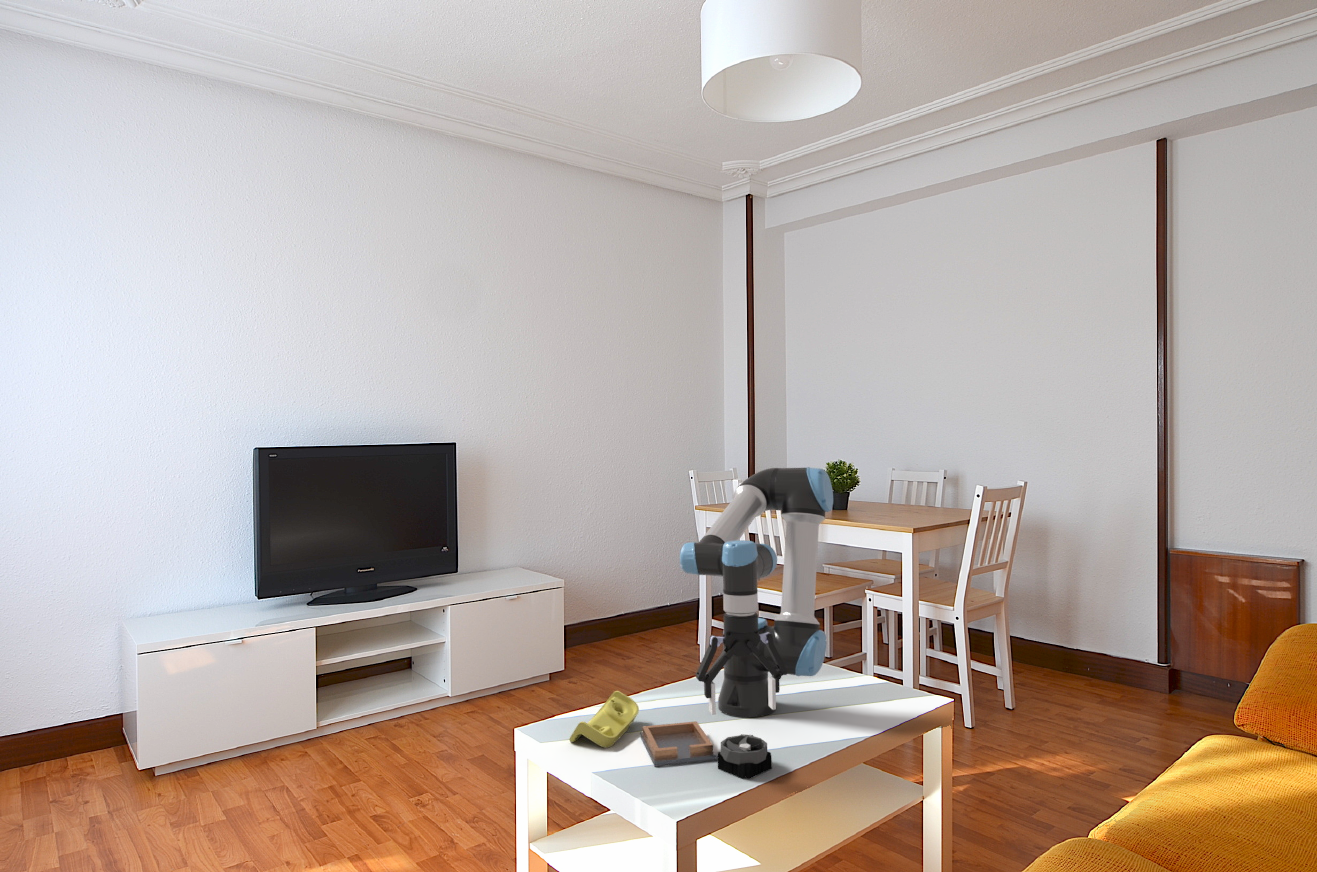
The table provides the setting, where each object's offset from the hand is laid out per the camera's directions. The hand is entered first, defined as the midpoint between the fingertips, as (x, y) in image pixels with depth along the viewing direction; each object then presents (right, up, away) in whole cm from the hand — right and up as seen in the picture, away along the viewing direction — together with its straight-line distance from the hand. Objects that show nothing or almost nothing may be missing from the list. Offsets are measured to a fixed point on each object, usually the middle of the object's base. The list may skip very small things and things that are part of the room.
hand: (742, 710), depth 174 cm
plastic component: (-31, -14, +22) cm, 40 cm away
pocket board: (-14, -13, +12) cm, 22 cm away
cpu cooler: (0, -13, 0) cm, 13 cm away
